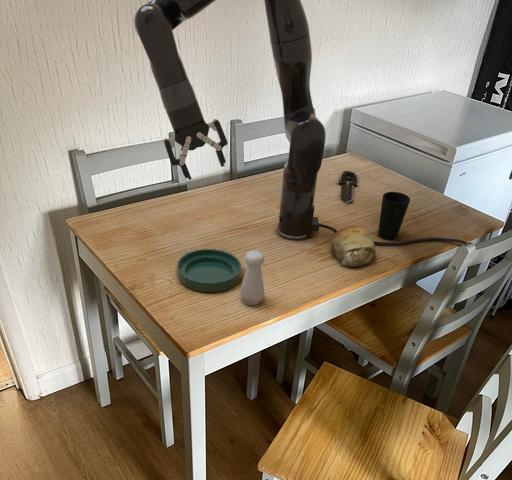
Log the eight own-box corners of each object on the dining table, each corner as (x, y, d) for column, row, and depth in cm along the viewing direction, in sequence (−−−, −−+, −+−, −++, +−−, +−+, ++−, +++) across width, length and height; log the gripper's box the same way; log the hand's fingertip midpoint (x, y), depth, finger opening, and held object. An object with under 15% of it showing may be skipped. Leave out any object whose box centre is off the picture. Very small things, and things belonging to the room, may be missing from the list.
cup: (384, 226, 163) (393, 189, 155) (405, 236, 159) (415, 198, 151) (369, 234, 159) (377, 196, 151) (390, 244, 155) (400, 206, 147)
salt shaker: (261, 309, 127) (264, 262, 118) (237, 305, 127) (239, 257, 119) (265, 295, 131) (269, 249, 123) (242, 291, 132) (245, 245, 123)
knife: (351, 205, 173) (351, 201, 172) (331, 202, 174) (331, 198, 173) (359, 176, 192) (360, 172, 191) (341, 173, 193) (342, 169, 192)
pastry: (340, 238, 156) (345, 213, 150) (381, 251, 151) (387, 225, 146) (320, 259, 146) (324, 232, 141) (363, 273, 142) (368, 246, 136)
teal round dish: (240, 259, 143) (240, 249, 141) (241, 294, 131) (242, 283, 129) (179, 258, 142) (179, 248, 140) (175, 292, 130) (175, 282, 128)
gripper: (152, 117, 118) (180, 186, 127) (212, 93, 119) (236, 164, 127) (150, 113, 125) (177, 180, 133) (207, 91, 125) (230, 158, 134)
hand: (206, 172), depth 130 cm, fingers open, 8 cm apart
